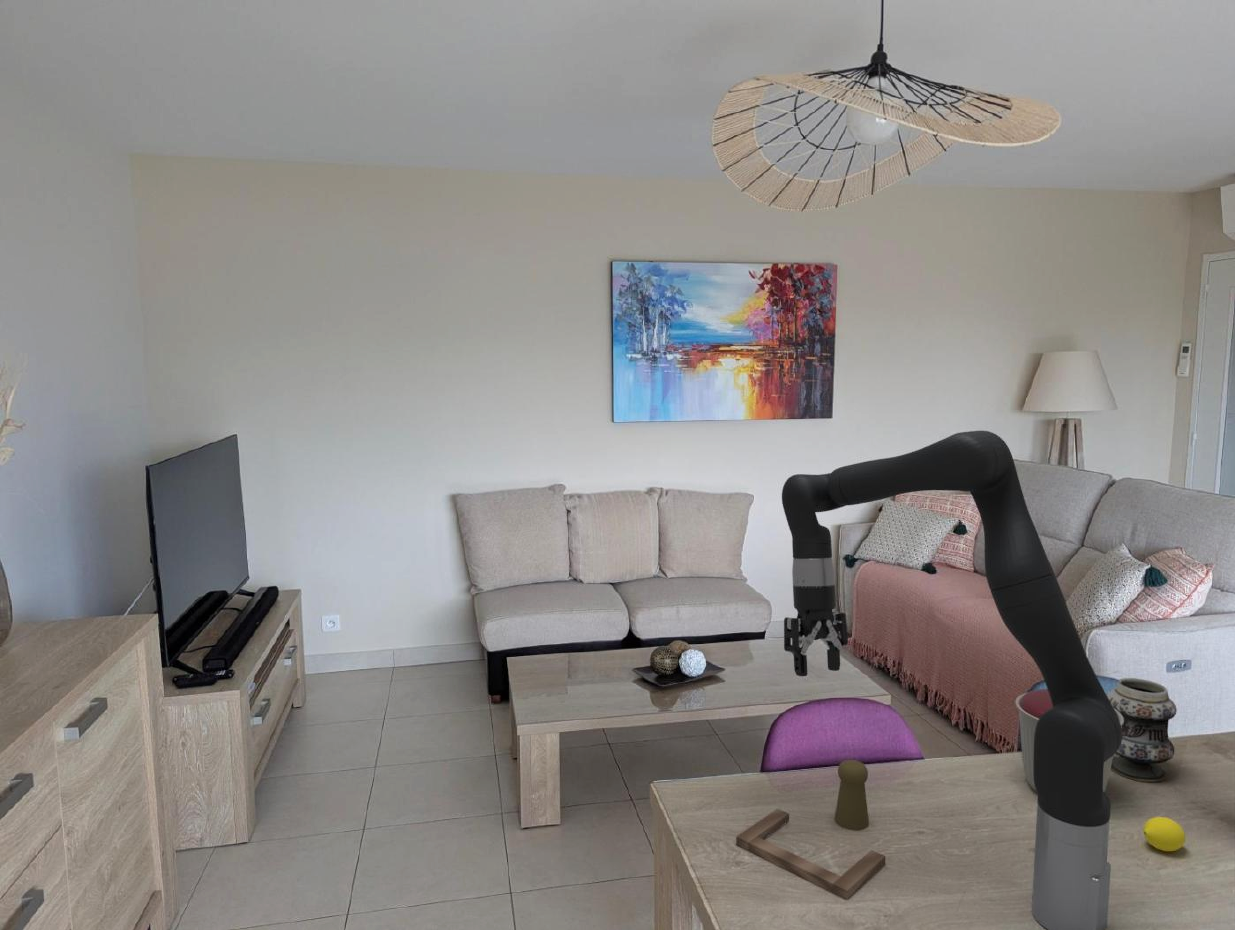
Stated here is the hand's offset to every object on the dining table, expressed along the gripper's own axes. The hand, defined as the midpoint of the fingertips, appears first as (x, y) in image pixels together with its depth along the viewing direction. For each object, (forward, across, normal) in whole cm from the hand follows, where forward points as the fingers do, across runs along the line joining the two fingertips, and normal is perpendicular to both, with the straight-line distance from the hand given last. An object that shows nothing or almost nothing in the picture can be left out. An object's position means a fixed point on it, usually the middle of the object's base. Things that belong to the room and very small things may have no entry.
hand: (818, 673), depth 147 cm
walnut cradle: (+29, -9, -4) cm, 30 cm away
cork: (+27, +5, -2) cm, 28 cm away
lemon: (+30, +42, -37) cm, 63 cm away
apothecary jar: (+25, +67, -23) cm, 75 cm away
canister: (+26, +47, -18) cm, 57 cm away
